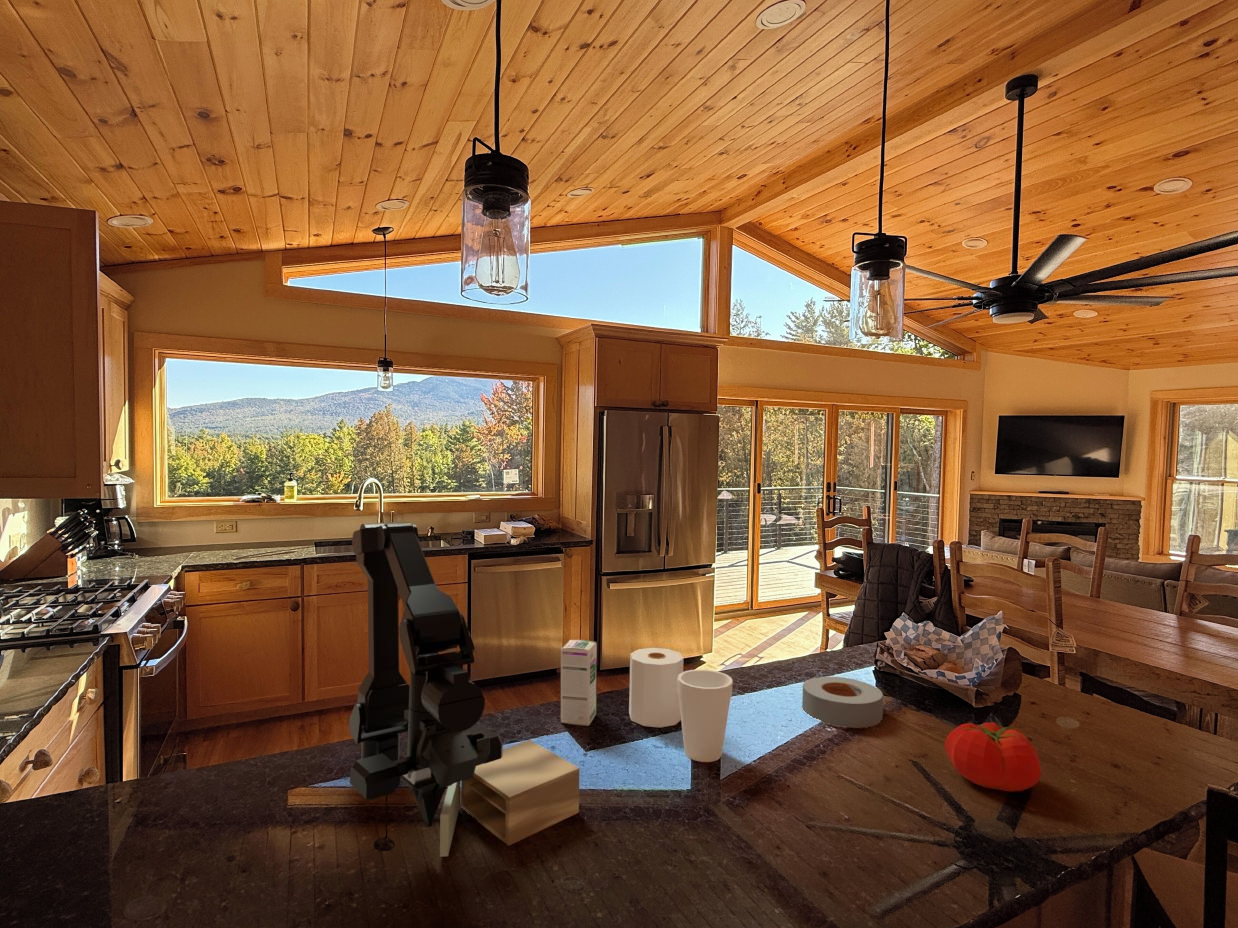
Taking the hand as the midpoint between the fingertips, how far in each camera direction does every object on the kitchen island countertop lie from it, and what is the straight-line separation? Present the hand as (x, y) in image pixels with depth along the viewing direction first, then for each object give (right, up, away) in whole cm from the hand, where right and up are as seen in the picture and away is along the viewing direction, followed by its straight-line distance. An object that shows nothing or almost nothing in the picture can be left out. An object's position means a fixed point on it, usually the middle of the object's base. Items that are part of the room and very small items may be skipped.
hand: (428, 825), depth 87 cm
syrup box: (+17, -2, +42) cm, 46 cm away
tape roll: (+69, -4, +48) cm, 84 cm away
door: (+2, -3, +4) cm, 5 cm away
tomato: (+85, -5, +22) cm, 88 cm away
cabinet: (+10, -3, +10) cm, 15 cm away
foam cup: (+39, -3, +29) cm, 49 cm away
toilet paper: (+32, -3, +44) cm, 54 cm away
